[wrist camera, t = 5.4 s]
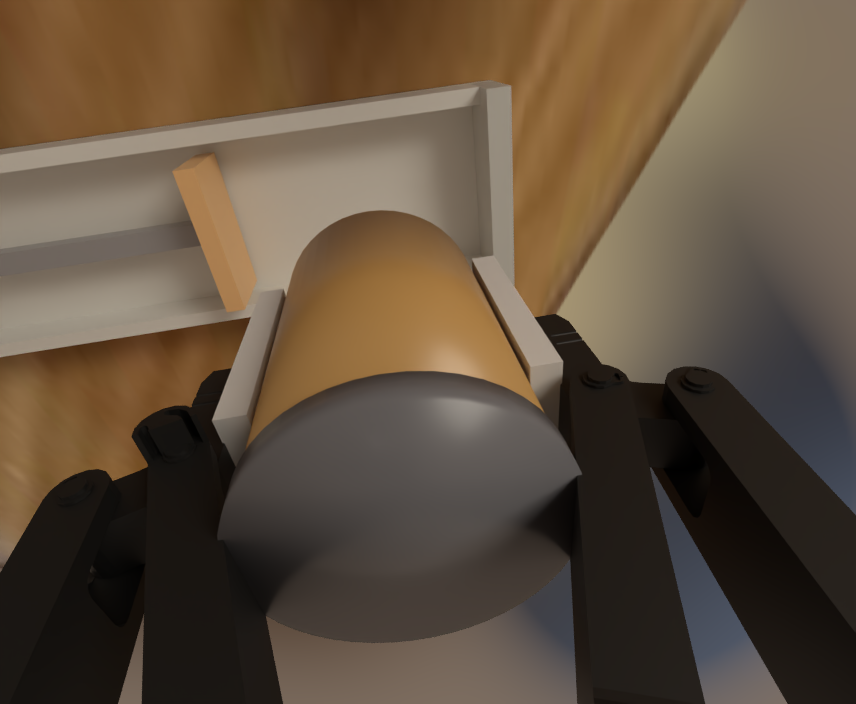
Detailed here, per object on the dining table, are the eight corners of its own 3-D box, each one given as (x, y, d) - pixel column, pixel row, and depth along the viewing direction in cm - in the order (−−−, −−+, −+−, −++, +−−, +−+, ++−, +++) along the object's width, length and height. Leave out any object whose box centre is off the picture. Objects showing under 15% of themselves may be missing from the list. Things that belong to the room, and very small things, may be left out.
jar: (260, 223, 15) (147, 446, 7) (470, 192, 15) (605, 368, 7) (312, 391, 19) (280, 666, 10) (481, 363, 19) (577, 609, 11)
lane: (-271, 187, 25) (-413, 220, 20) (490, 80, 27) (518, 87, 22) (-120, 357, 31) (-204, 412, 26) (496, 259, 32) (520, 294, 28)
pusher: (-262, 220, 25) (-357, 248, 22) (214, 152, 26) (193, 167, 23) (-149, 343, 29) (-215, 382, 26) (257, 280, 30) (245, 309, 27)
